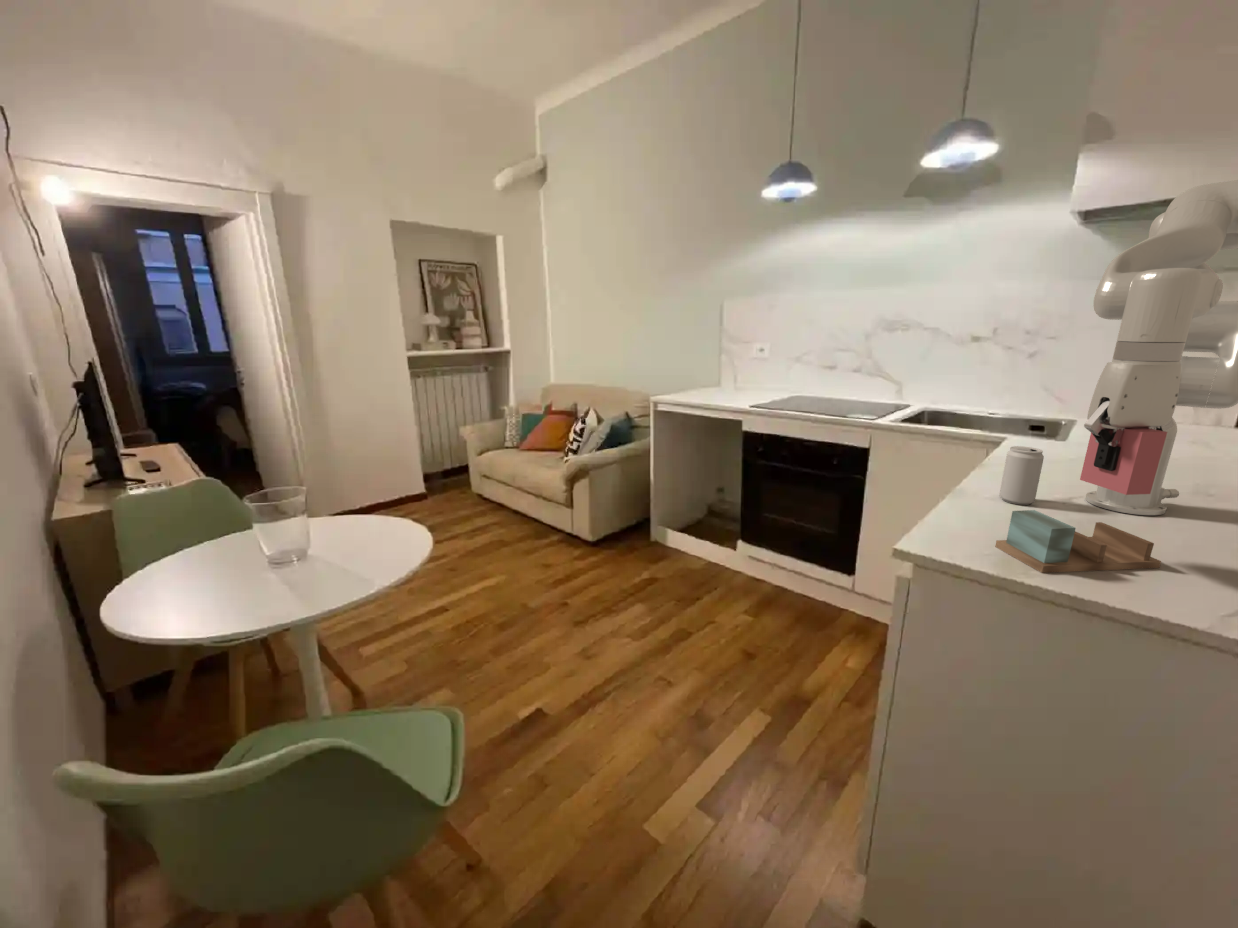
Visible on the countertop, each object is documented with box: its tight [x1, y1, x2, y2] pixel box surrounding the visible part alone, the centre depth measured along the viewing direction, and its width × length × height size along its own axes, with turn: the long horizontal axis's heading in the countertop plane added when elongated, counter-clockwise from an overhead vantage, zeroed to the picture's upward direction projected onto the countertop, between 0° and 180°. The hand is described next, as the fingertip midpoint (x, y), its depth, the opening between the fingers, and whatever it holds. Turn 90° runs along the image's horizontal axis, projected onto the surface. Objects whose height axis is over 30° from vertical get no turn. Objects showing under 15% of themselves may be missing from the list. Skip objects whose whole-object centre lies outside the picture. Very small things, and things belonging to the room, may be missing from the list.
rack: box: [995, 509, 1162, 574], centre depth 88 cm, size 20×10×7 cm, turn 93°
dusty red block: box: [1079, 424, 1167, 495], centre depth 84 cm, size 4×8×10 cm, turn 3°
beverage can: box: [998, 445, 1045, 506], centre depth 114 cm, size 6×6×12 cm
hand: (1118, 467), depth 85 cm, fingers closed on dusty red block, 4 cm apart
